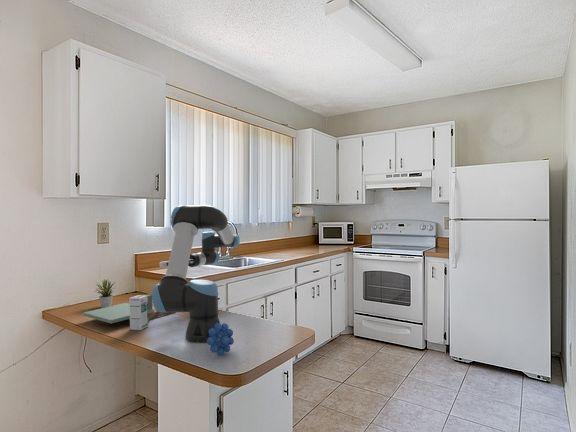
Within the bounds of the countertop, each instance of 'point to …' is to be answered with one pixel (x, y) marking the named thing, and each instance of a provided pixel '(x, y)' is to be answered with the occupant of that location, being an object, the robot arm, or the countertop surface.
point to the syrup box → (138, 312)
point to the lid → (115, 312)
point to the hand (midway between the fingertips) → (160, 264)
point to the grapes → (220, 338)
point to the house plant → (105, 294)
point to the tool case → (156, 313)
